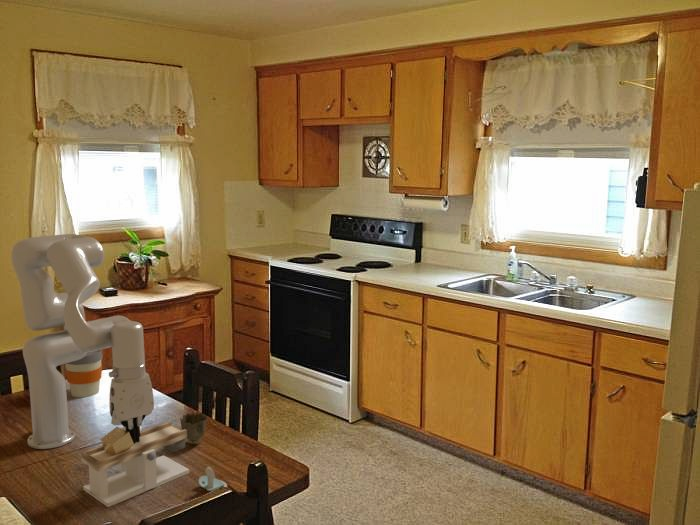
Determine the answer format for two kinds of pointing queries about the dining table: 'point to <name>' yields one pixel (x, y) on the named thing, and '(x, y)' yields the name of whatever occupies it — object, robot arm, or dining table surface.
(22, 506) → the dining table surface
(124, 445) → the slider weight
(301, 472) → the dining table surface
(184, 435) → the balance beam
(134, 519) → the dining table surface
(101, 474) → the beam stand
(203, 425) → the cup
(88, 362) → the reusable coffee cup
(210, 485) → the pacifier
